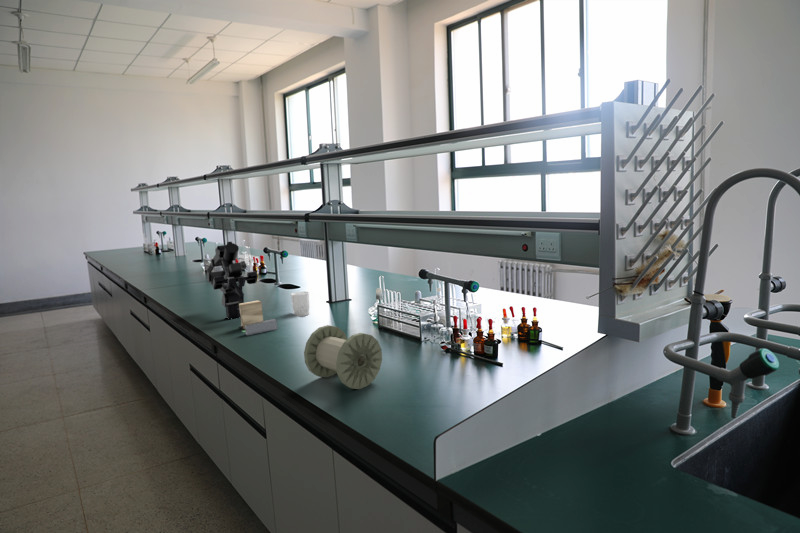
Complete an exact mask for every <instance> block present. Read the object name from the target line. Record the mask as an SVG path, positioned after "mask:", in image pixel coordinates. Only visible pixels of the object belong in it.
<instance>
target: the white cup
mask: <svg viewBox="0 0 800 533" xmlns="http://www.w3.org/2000/svg"><path fill="white" fill-rule="evenodd" d="M290 298H291V303H292V310H293V314H294V316H297V317H300V318H301V317H306V316H309V315H310V292H309V291H296V292H295V291H294V292H292V293H291V294H290Z"/></svg>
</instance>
